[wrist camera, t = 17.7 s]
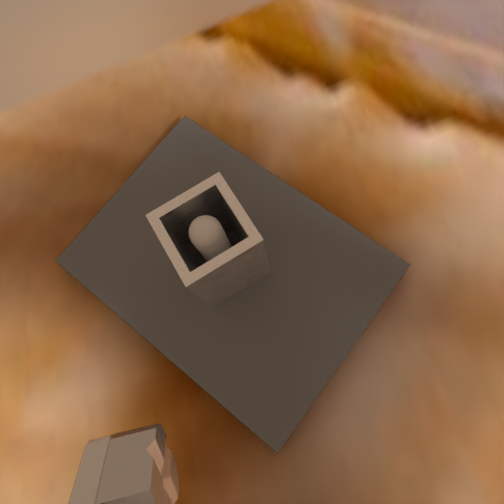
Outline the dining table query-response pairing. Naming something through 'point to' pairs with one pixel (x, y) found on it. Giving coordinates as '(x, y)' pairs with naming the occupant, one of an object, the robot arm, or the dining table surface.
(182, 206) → the steel sleeve
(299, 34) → the dining table surface
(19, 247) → the dining table surface
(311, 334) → the shaft plate
